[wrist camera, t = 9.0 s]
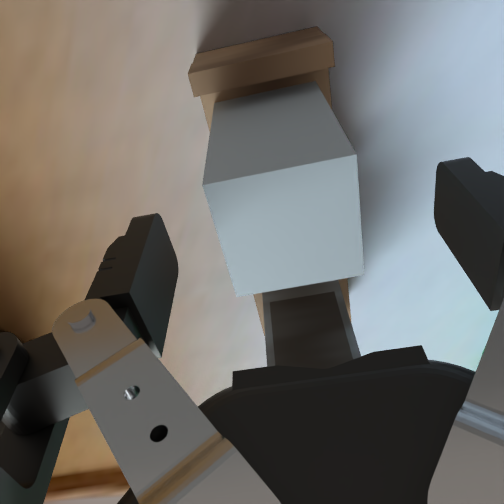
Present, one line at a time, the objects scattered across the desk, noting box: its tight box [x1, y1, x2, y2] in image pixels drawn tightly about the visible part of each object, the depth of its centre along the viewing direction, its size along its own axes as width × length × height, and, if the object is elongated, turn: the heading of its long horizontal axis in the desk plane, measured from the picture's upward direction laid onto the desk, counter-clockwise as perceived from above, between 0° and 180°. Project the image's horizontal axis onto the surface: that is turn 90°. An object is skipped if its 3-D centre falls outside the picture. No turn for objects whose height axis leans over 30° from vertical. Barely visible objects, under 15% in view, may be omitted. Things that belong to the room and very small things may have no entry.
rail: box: [188, 27, 361, 369], centre depth 18 cm, size 5×15×9 cm, turn 11°
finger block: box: [203, 81, 364, 297], centre depth 15 cm, size 4×4×7 cm
